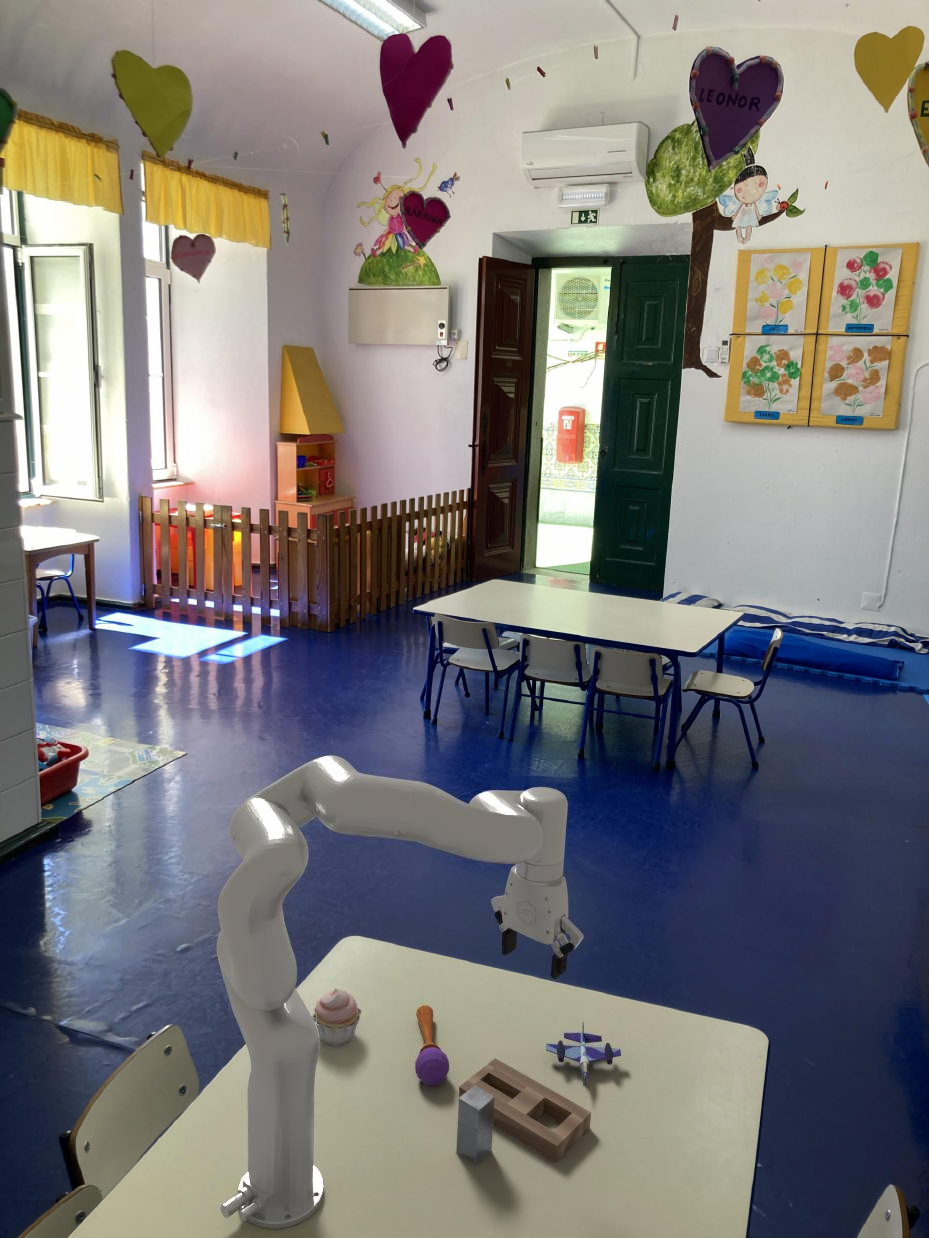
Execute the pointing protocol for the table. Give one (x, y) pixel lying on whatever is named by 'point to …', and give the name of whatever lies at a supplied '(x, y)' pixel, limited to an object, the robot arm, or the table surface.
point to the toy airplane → (583, 1050)
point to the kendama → (430, 1052)
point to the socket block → (530, 1109)
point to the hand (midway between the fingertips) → (532, 963)
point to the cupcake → (336, 1017)
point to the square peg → (475, 1124)
